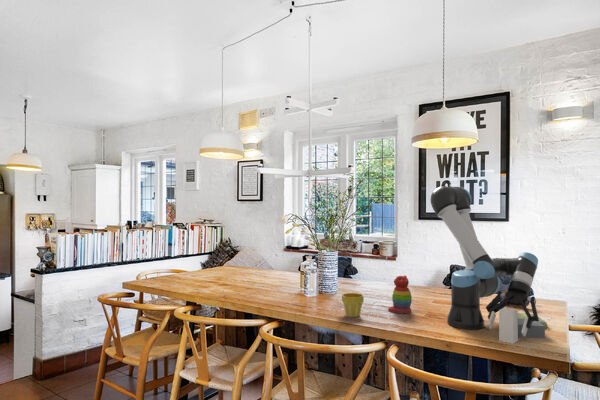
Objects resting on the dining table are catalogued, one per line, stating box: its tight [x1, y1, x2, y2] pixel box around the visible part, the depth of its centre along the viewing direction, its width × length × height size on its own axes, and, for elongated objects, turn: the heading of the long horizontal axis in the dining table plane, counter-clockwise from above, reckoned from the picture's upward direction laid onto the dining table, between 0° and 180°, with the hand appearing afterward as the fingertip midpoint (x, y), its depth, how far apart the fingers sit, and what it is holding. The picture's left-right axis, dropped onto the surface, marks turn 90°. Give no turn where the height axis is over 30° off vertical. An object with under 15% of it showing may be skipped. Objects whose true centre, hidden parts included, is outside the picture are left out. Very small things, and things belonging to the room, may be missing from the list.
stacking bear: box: [388, 275, 412, 314], centre depth 199 cm, size 11×10×18 cm
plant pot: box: [341, 292, 364, 318], centre depth 191 cm, size 10×10×10 cm
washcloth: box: [518, 312, 549, 329], centre depth 181 cm, size 13×18×3 cm
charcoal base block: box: [518, 318, 546, 339], centre depth 164 cm, size 10×10×5 cm
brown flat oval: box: [499, 289, 531, 309], centre depth 208 cm, size 15×3×8 cm, turn 47°
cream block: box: [498, 307, 519, 345], centre depth 155 cm, size 5×5×12 cm
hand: (505, 330), depth 153 cm, fingers open, 12 cm apart
